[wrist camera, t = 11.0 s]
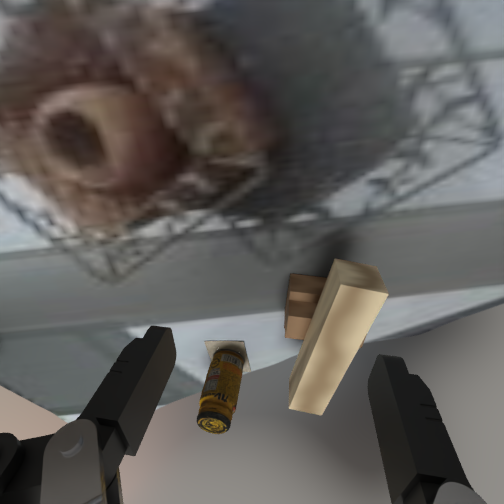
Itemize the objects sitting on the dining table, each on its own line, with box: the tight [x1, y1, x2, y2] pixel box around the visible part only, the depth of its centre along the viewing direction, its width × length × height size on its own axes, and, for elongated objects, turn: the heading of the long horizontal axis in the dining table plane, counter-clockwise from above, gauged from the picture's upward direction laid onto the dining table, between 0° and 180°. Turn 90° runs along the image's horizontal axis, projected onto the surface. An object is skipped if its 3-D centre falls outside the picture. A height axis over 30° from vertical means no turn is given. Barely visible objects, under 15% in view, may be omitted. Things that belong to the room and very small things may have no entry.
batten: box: [289, 259, 389, 415], centre depth 34 cm, size 4×22×4 cm, turn 171°
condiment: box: [197, 341, 251, 434], centre depth 47 cm, size 7×8×12 cm
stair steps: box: [284, 274, 367, 348], centre depth 38 cm, size 10×7×7 cm
